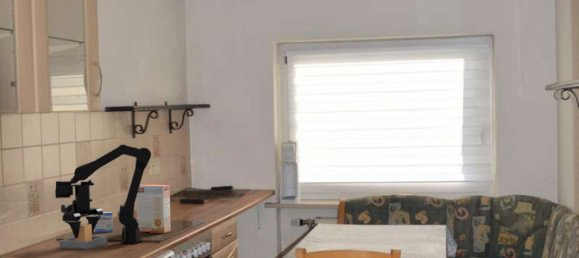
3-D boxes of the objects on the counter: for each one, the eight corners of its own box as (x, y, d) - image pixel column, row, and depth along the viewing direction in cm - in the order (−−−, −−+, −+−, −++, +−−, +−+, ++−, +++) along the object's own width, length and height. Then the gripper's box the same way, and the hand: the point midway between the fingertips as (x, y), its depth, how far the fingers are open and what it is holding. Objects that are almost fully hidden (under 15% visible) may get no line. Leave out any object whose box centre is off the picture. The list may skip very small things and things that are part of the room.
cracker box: (171, 231, 314) (170, 184, 314) (164, 233, 309) (162, 185, 308) (144, 230, 320) (143, 183, 319) (136, 232, 314) (135, 185, 314)
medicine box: (94, 233, 315) (94, 213, 314) (94, 231, 319) (94, 212, 319) (113, 231, 317) (112, 212, 317) (112, 230, 321) (112, 211, 321)
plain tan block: (92, 243, 286) (91, 224, 285) (85, 245, 281) (84, 225, 281) (82, 243, 287) (82, 223, 287) (75, 245, 283) (75, 225, 283)
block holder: (107, 243, 288) (107, 236, 288) (87, 249, 276) (86, 242, 276) (80, 242, 293) (80, 234, 293) (59, 248, 281) (59, 240, 281)
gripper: (80, 193, 295) (81, 231, 296) (50, 199, 278) (51, 239, 278) (103, 194, 291) (104, 232, 292) (73, 200, 274) (75, 240, 274)
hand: (83, 235), depth 284 cm, fingers open, 9 cm apart
